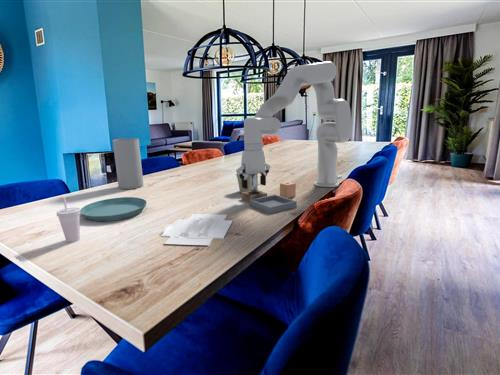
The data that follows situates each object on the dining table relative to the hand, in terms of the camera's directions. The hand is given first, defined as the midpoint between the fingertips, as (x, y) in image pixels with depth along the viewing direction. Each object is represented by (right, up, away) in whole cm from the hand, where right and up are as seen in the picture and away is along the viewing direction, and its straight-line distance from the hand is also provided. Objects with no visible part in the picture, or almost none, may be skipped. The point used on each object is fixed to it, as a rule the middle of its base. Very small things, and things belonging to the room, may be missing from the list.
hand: (254, 186), depth 138 cm
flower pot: (-4, -3, +15) cm, 16 cm away
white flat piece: (-19, -15, -32) cm, 40 cm away
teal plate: (-55, -11, -13) cm, 58 cm away
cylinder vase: (-65, 0, +30) cm, 72 cm away
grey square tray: (+7, -8, -9) cm, 14 cm away
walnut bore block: (0, -6, +1) cm, 6 cm away
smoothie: (-57, -17, -39) cm, 71 cm away
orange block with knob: (+15, -4, +6) cm, 17 cm away
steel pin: (0, -6, +1) cm, 6 cm away
